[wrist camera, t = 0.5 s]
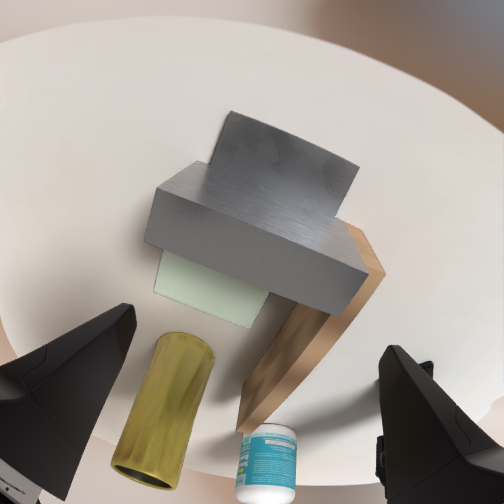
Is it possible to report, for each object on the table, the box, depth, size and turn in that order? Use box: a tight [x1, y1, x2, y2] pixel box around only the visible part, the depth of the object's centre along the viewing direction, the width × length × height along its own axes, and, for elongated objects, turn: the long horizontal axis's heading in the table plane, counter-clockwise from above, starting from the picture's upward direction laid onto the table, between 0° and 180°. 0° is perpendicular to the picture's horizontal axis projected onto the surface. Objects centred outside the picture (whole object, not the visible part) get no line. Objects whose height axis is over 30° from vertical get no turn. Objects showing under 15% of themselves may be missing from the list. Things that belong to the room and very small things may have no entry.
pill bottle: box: [235, 424, 297, 504], centre depth 29 cm, size 8×7×14 cm
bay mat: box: [154, 250, 270, 329], centre depth 23 cm, size 9×9×1 cm
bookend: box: [144, 111, 369, 317], centre depth 16 cm, size 7×11×7 cm, turn 69°
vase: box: [111, 333, 215, 490], centre depth 21 cm, size 6×6×14 cm
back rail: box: [236, 222, 386, 435], centre depth 22 cm, size 20×2×6 cm, turn 159°
